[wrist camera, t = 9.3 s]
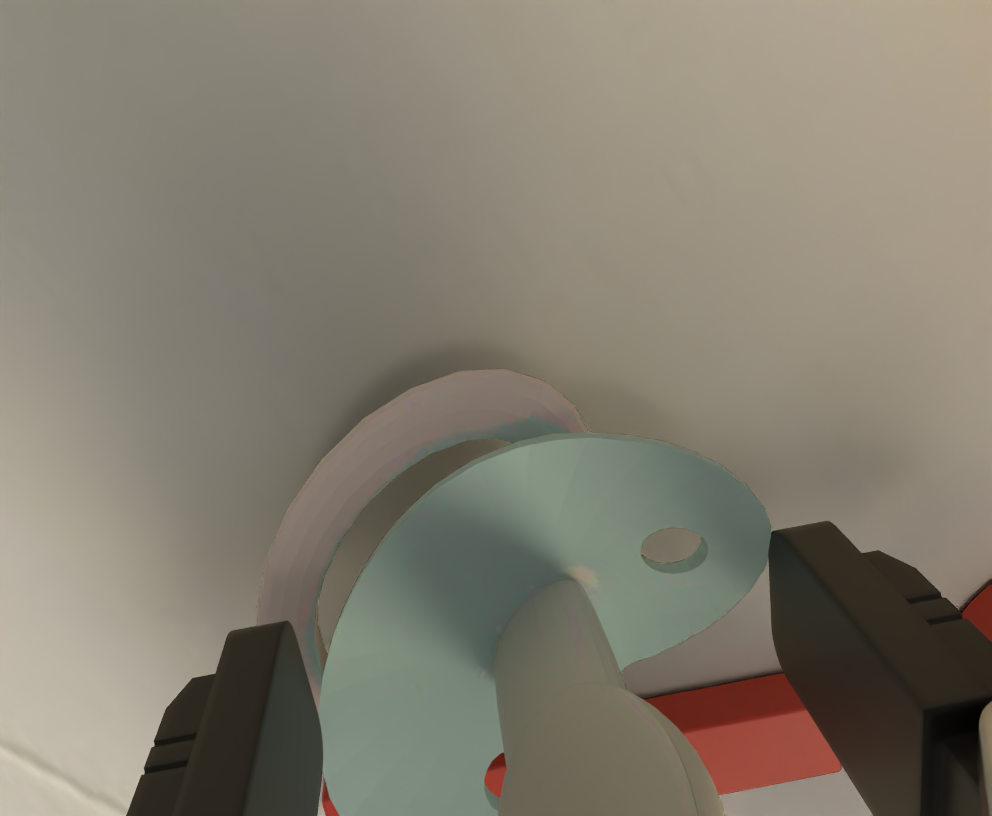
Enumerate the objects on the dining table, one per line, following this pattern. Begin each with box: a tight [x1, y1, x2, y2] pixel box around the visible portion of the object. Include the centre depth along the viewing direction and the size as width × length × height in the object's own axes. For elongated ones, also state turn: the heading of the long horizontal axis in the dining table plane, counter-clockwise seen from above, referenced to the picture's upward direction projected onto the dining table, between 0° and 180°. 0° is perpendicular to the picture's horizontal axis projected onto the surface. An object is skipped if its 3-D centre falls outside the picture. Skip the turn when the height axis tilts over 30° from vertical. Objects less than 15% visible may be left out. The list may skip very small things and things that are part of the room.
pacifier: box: [256, 369, 771, 816], centre depth 10 cm, size 7×6×6 cm
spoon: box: [322, 584, 992, 816], centre depth 16 cm, size 16×5×1 cm, turn 99°
